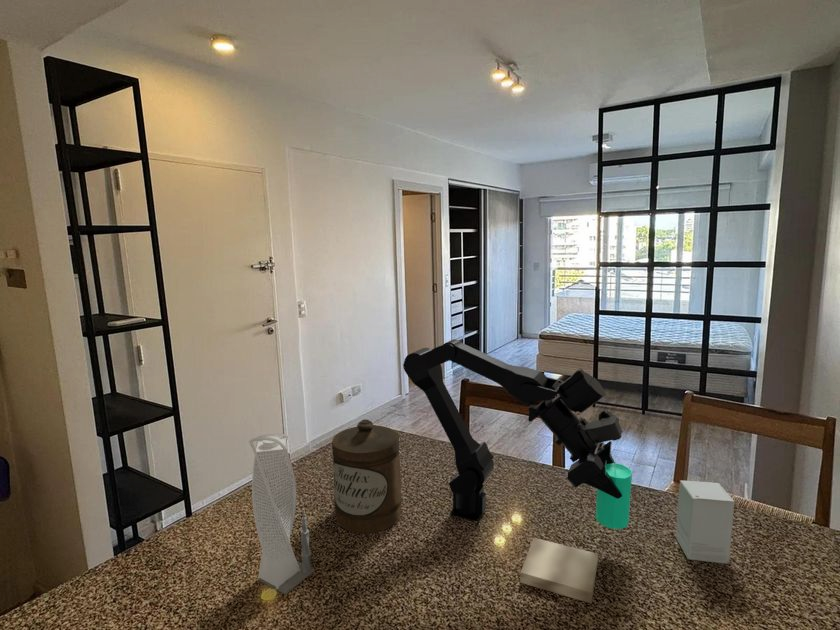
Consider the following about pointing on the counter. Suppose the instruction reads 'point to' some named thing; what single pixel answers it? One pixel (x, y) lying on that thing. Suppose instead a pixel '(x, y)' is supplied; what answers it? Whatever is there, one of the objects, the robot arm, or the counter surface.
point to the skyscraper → (277, 515)
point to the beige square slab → (560, 569)
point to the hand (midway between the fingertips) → (621, 490)
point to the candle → (615, 499)
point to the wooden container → (367, 478)
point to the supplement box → (704, 521)
